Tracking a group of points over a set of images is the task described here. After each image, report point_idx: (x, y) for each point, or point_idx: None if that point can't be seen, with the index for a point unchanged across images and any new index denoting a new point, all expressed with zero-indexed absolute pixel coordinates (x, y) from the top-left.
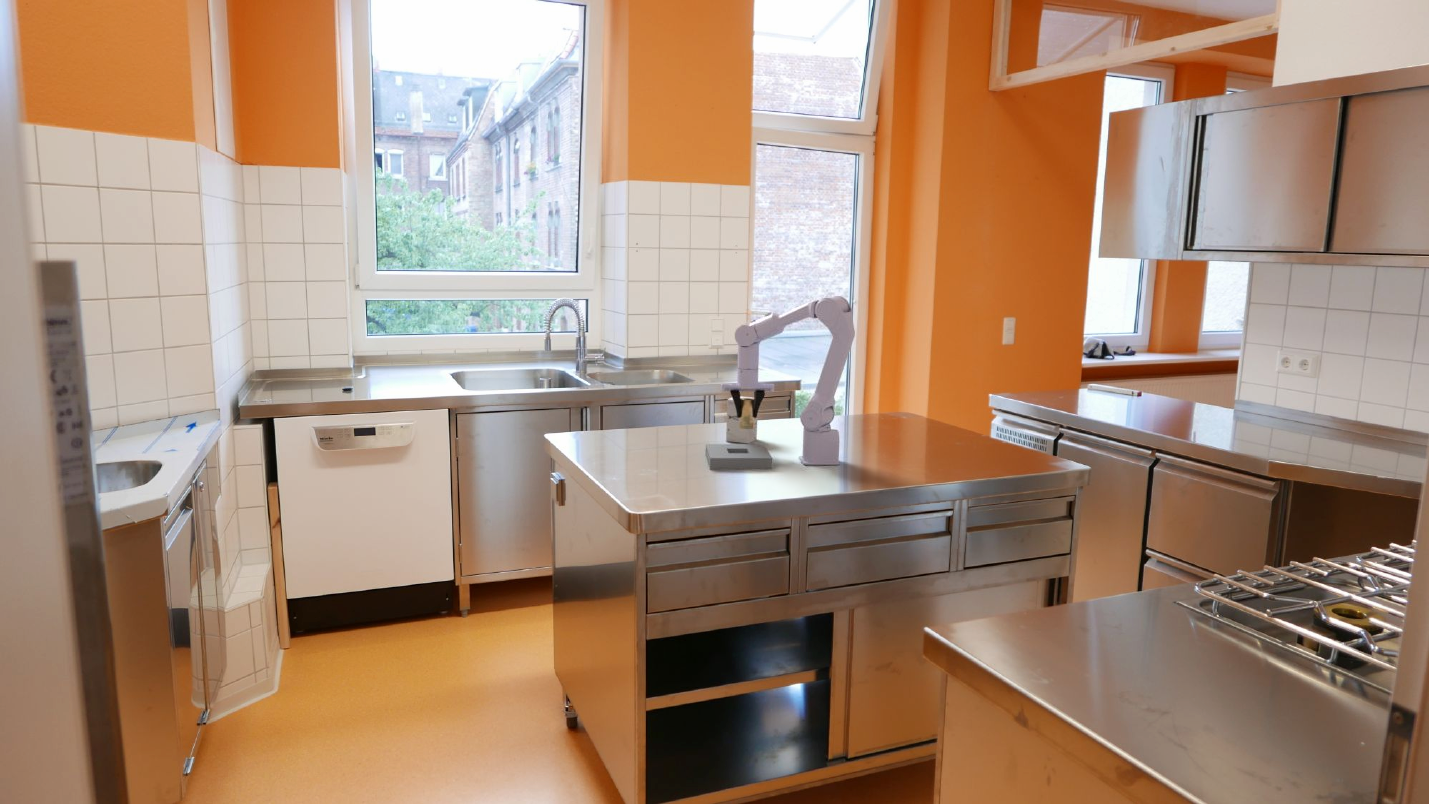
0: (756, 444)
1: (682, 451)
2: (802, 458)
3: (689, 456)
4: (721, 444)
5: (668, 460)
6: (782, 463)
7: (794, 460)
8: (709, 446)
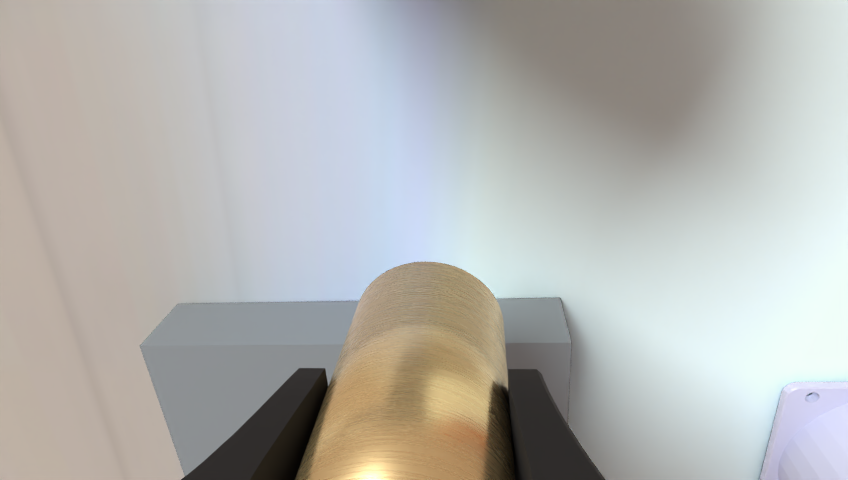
0: (511, 354)
1: (10, 217)
2: (784, 458)
3: (93, 336)
4: (251, 355)
5: (12, 412)
6: (635, 474)
7: (733, 420)
8: (179, 403)
